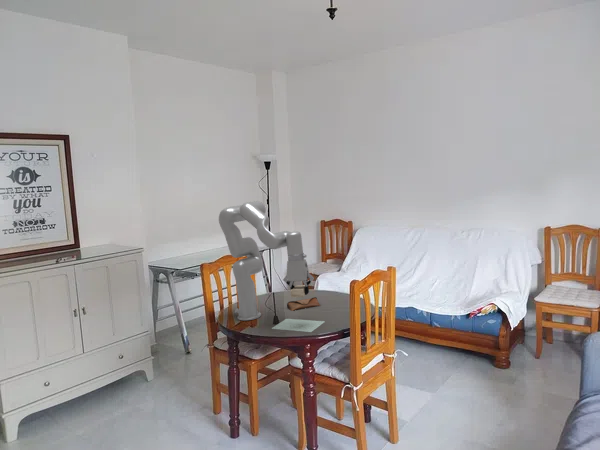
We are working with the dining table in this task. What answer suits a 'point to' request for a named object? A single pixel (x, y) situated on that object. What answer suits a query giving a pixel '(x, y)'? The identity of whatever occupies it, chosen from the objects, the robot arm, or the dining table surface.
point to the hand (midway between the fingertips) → (300, 293)
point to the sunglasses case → (303, 304)
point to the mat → (298, 325)
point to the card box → (298, 291)
